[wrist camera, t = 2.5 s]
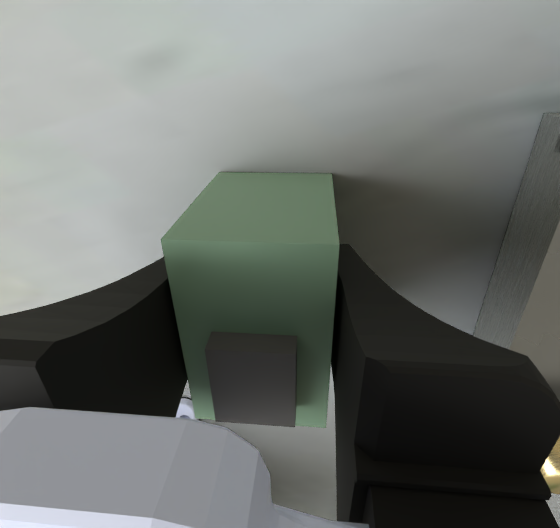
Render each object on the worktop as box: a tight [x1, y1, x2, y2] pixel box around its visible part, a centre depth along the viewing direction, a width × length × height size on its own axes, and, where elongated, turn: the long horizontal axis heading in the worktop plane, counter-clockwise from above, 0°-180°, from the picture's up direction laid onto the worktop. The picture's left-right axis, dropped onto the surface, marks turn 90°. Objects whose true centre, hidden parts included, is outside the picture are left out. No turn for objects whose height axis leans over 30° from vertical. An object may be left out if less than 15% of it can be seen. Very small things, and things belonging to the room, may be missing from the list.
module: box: [161, 172, 339, 428], centre depth 11 cm, size 6×4×6 cm, turn 1°
